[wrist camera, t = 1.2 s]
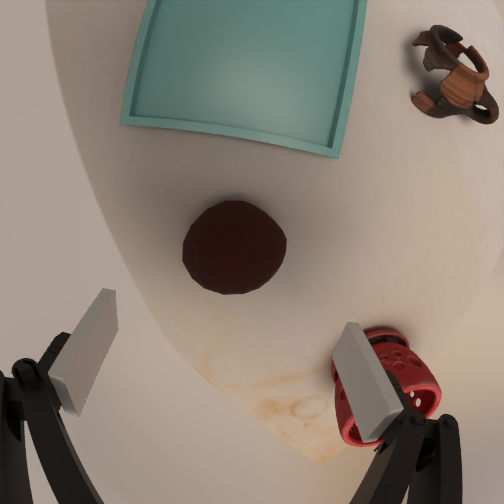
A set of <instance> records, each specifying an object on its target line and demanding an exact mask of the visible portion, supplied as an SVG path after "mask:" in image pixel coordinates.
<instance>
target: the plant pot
mask: <svg viewBox="0 0 504 504" xmlns="http://www.w3.org/2000/svg"><path fill="white" fill-rule="evenodd" d="M365 336H366V337H367V339H368V341H369V343H370V345H371V346H372V348H373V350H374V352H375V354H376V356H377V357H378V359H379V361H380V363H381V365H382V367H383V369H384V370H390V371H391V372H392V373H393V374H394V375H395V376H396V378H397V380H398V382H399V383H400V384H399V385H401V387H402V390H403V391H404V393H405V395H406V397H407V398H408V400H409V402H410V404H411V406H412V408H413V410H417V411H420V412H421V413H423V414H424V415H425V416H426V419H428V418H429V417H430V416H431V415H432V414H433V413H434V411H435V410H436V408H437V407H438V405H439V403H440V400H441V394H442V393H441V389H440V387H439V385H438V383H437V381H436V380H435V378H434V376H433V375H432V373H431V372H430V370H429V369H428V367H427V366H426V365H425V363H424V362H423V361H422V360H421V359H420V358H419V357H418V356H417V355H416V354H415V353H414V352H413V351H411V350H410V349H409V343H408V341H407V339H406V338H405V337H404V336H403V335H402V334H400V333H398V332H396V331H392V330H377V331H372V332H369V333H366V334H365ZM332 378H333V380H334V382H335V384H336V388H335V409H336V417H337V422H338V427H339V431H340V434H341V437H342V439H343V440H344V441H345V442H346V443H347V444H349V445H353V446H358V447H366V446H374V445H379V444H380V443H381V442H382V441H383V440H384V439H383V436H382V435H381V436H380V437H379V438H378V439H377V440H376V441H373V442H366V443H363V441H362V438H361V435H360V433H359V430H358V427H357V426H356V424H355V422H356V421H355V418H354V415H353V413H352V410H351V407H350V404H349V401H348V399H347V396H346V393H345V390H344V388H343V385H342V382H341V380H340V377H339V374H338V372H337V369H336V366H335V364H333V368H332ZM411 391H413V392H414V396H413V397H411V396H410V393H411ZM418 398H419V399H420V400H421V404H420V406H419V407H417V406H416V404H415V403H416V400H417V399H418ZM350 428H351V429H350ZM351 430H352V431H351Z"/></svg>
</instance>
